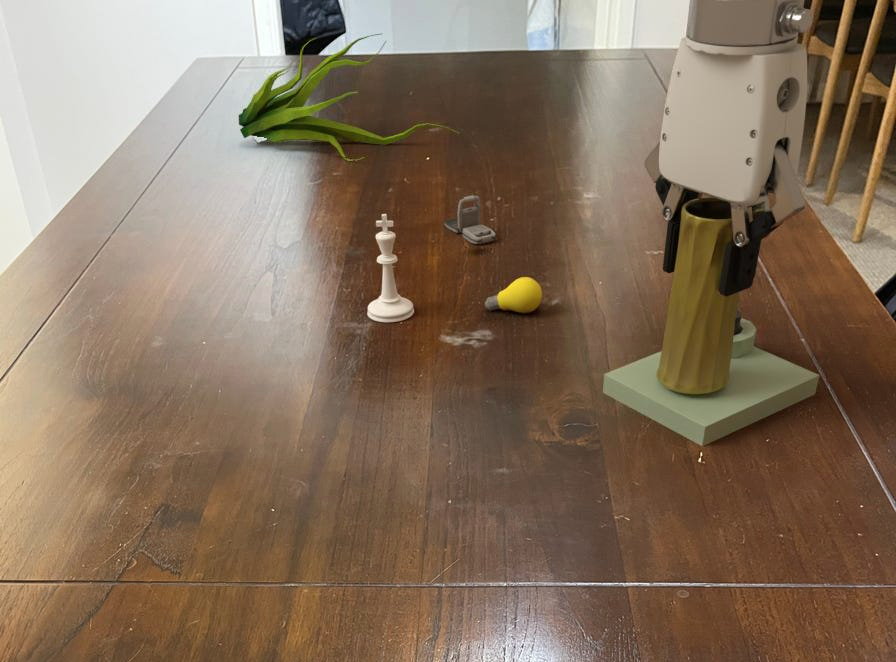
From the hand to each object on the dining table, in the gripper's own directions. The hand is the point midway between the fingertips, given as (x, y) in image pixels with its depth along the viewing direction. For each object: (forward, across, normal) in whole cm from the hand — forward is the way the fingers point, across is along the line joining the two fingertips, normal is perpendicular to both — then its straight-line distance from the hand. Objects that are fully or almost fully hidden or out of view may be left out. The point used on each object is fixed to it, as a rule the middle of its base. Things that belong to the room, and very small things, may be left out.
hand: (706, 277), depth 81 cm
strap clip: (+11, +46, -10) cm, 49 cm away
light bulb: (+11, +25, 0) cm, 28 cm away
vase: (+9, 0, 0) cm, 9 cm away
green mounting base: (+11, 0, -2) cm, 11 cm away
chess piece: (+11, +33, +10) cm, 36 cm away
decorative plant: (+11, +88, -18) cm, 91 cm away
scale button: (+8, +3, -7) cm, 11 cm away
